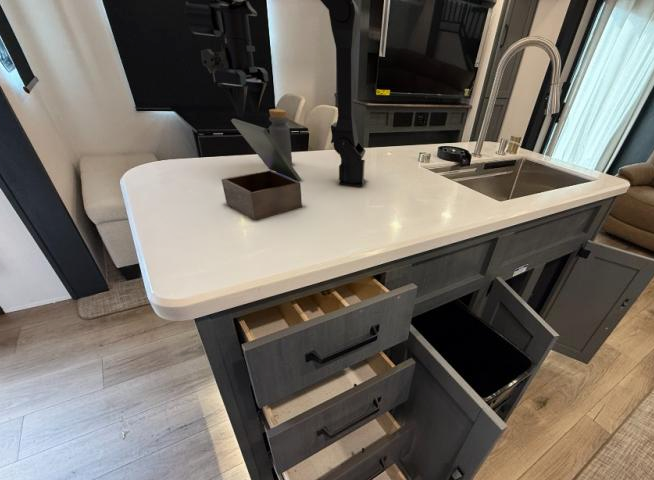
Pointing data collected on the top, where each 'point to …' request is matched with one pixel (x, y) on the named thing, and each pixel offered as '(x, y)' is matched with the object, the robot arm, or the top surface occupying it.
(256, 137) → the lid
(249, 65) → the robot arm
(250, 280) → the top surface
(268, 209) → the box
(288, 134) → the bottle
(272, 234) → the top surface
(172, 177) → the top surface
